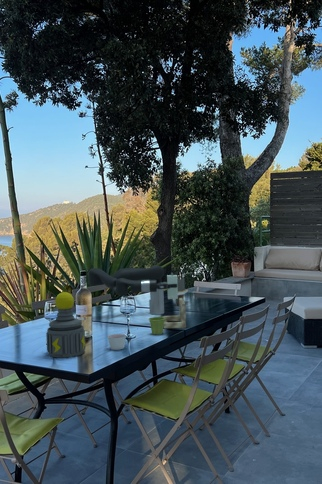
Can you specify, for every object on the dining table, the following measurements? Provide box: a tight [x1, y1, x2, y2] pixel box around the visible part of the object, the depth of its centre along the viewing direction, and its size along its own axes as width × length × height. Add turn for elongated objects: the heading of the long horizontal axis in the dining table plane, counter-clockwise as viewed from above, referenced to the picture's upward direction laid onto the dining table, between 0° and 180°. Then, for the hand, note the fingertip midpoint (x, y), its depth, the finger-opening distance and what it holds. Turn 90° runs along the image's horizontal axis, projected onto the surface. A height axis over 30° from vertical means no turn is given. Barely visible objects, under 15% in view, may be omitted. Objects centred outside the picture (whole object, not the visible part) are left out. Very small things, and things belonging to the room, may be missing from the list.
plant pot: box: [148, 316, 165, 336], centre depth 277 cm, size 9×9×9 cm
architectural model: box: [175, 277, 189, 307], centre depth 374 cm, size 38×25×20 cm, turn 167°
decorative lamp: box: [45, 291, 86, 359], centre depth 240 cm, size 19×19×30 cm
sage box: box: [166, 272, 178, 300], centre depth 301 cm, size 6×5×16 cm
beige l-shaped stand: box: [162, 297, 187, 329], centre depth 302 cm, size 13×23×14 cm, turn 2°
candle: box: [107, 333, 127, 351], centre depth 247 cm, size 9×9×6 cm
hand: (176, 285), depth 301 cm, fingers closed on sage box, 5 cm apart
